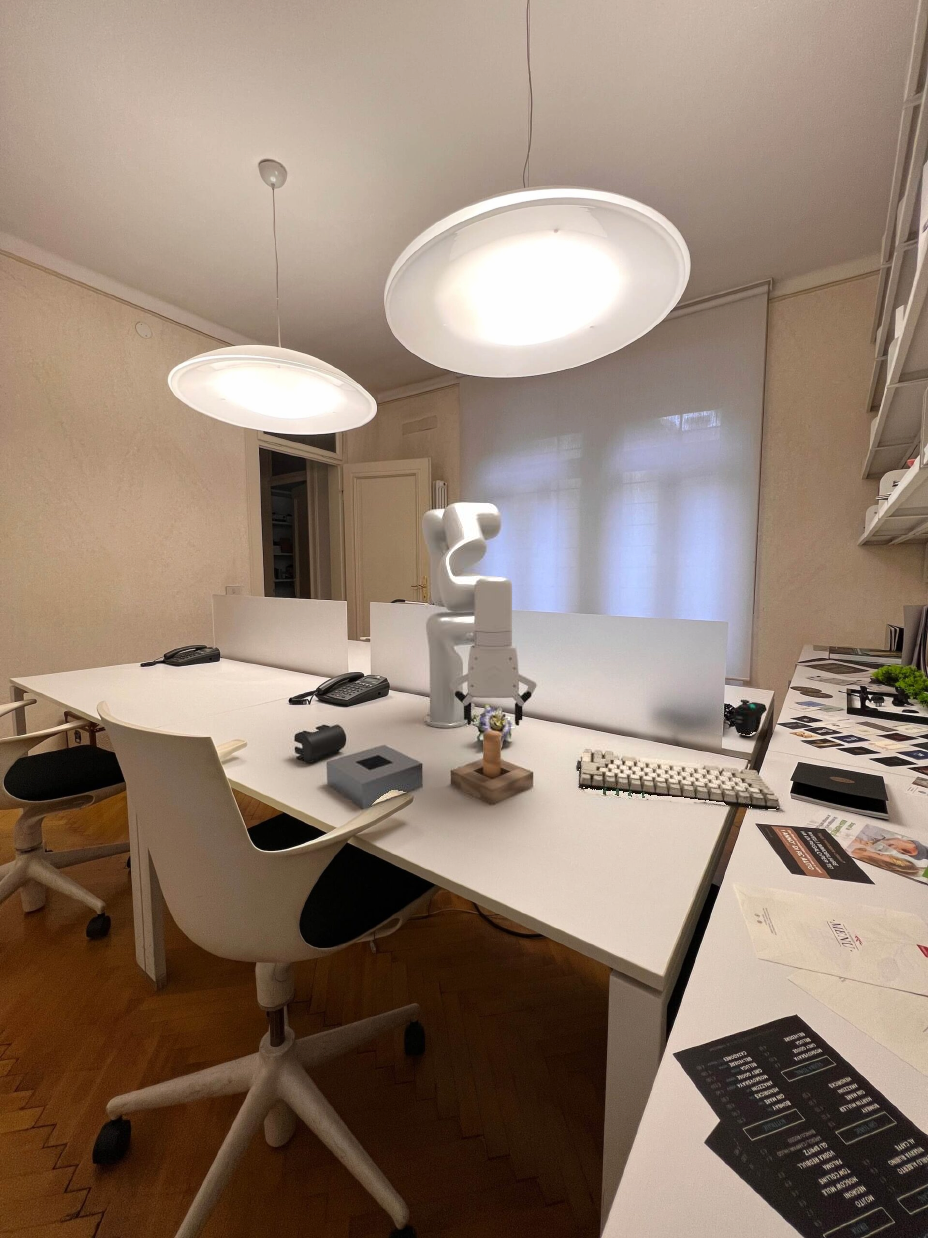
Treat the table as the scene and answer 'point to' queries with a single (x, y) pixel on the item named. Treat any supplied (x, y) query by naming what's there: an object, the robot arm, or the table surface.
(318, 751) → the end cap
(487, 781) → the frame
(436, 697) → the robot arm
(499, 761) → the pin
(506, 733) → the passion flower
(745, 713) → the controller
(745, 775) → the mechanical keyboard
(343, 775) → the socket block
